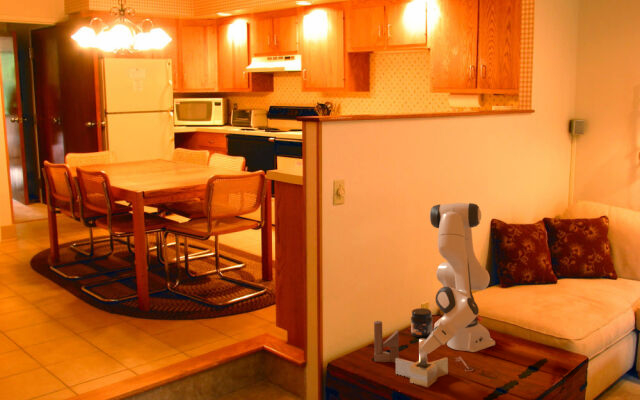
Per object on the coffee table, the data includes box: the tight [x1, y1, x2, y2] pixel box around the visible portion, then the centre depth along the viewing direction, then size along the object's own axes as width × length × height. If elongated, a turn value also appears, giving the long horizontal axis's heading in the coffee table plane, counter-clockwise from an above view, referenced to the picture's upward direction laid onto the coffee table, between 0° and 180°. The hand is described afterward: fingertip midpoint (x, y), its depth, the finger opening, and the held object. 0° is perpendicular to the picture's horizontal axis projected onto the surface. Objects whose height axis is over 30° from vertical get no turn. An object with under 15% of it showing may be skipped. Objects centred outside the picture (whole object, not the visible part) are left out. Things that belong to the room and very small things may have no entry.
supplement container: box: [410, 307, 433, 339], centre depth 306 cm, size 10×10×12 cm
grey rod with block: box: [373, 320, 400, 363], centre depth 277 cm, size 4×11×18 cm, turn 81°
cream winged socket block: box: [394, 356, 449, 388], centre depth 262 cm, size 18×16×7 cm
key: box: [454, 356, 475, 373], centre depth 272 cm, size 6×1×15 cm
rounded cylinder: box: [418, 338, 428, 365], centre depth 254 cm, size 3×3×10 cm
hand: (421, 349), depth 255 cm, fingers closed on rounded cylinder, 3 cm apart
